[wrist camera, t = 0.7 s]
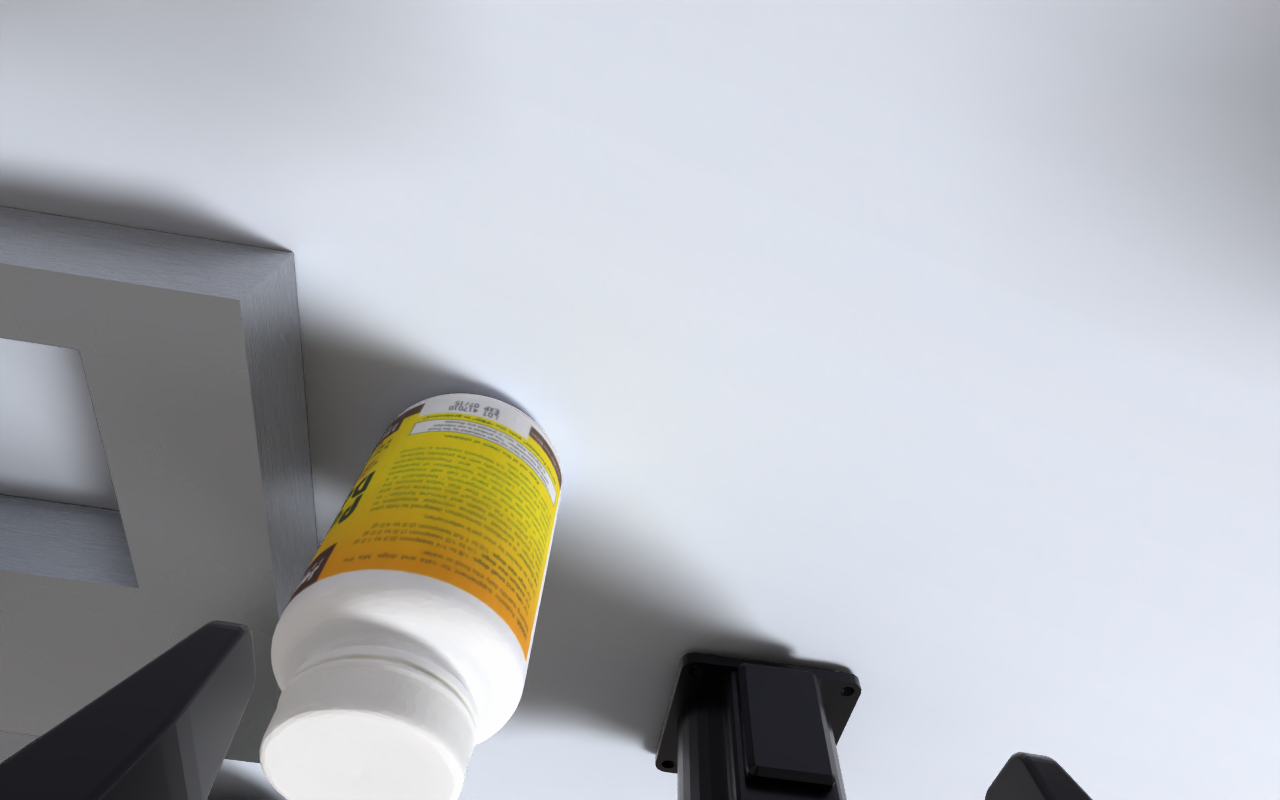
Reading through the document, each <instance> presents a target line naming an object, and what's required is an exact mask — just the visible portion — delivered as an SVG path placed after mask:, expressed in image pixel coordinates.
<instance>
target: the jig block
mask: <svg viewBox="0 0 1280 800" xmlns="http://www.w3.org/2000/svg"><path fill="white" fill-rule="evenodd" d="M0 338H4V339H11V340H18V341H24V342H31V343H38V344H45V345H51V346H58V347H65V348H71V349H78V350H79V351H80V355H81V359H82V363H83V367H84V371H85V375H86V379H87V383H88V387H89V391H90V395H91V399H92V403H93V407H94V411H95V415H96V419H97V423H98V427H99V431H100V435H101V439H102V443H103V447H104V451H105V454H106V458H107V462H108V466H109V470H110V474H111V478H112V482H113V486H114V490H115V494H116V498H117V502H118V506H119V510H120V511H115V510H107V509H100V508H93V507H86V506H79V505H71V504H64V503H57V502H50V501H43V500H35V499H28V498H21V497H14V496H6V495H0V731H2V732H10V733H19V734H27V735H35V736H42V735H43V734H45V733H46V732H48V731H49V730H51V729H52V728H54V727H55V726H57V725H58V724H59V723H61V722H62V721H64V720H65V719H67V718H68V717H70V716H71V715H73V714H74V713H76V712H77V711H78V710H80V709H81V708H83V707H84V706H86V705H87V704H89V703H90V702H92V701H93V700H95V699H96V698H98V697H99V696H100V695H102V694H103V693H105V692H106V691H108V690H109V689H111V688H112V687H114V686H115V685H117V684H118V683H120V682H121V681H122V680H124V679H125V678H127V677H128V676H130V675H131V674H133V673H134V672H136V671H137V670H139V669H140V668H142V667H143V666H144V665H146V664H147V663H149V662H150V661H152V660H153V659H155V658H156V657H158V656H159V655H161V654H162V653H164V652H165V651H166V650H168V649H169V648H171V647H172V646H174V645H175V644H177V643H178V642H180V641H181V640H183V639H184V638H185V637H187V636H188V635H190V634H191V633H193V632H194V631H196V630H197V629H199V628H200V627H202V626H203V625H205V624H206V623H209V622H211V621H215V620H220V621H226V622H232V623H238V624H244V625H247V626H248V627H249V628H250V629H251V631H252V635H253V646H254V659H255V671H256V676H255V683H254V687H253V690H252V693H251V696H250V699H249V701H248V703H247V706H246V708H245V710H244V713H243V715H242V717H241V720H240V722H239V725H238V727H237V729H236V732H235V734H234V736H233V739H232V741H231V744H230V746H229V748H228V751H227V753H226V755H225V758H224V759H230V760H238V761H247V762H255V763H260V746H261V742H262V740H263V737H264V734H265V732H266V730H267V728H268V726H269V724H270V722H271V720H272V717H273V715H274V713H275V711H276V709H277V705H278V701H279V698H280V695H281V693H282V691H281V689H280V688H279V686H278V683H277V681H276V678H275V675H274V672H273V668H272V663H271V647H272V639H273V635H274V632H275V629H276V626H277V624H278V622H279V620H280V618H281V616H282V614H283V612H284V610H285V608H286V606H287V604H288V603H289V601H290V599H291V597H292V595H293V594H294V592H295V590H296V588H297V587H298V585H299V583H300V581H301V579H302V577H303V576H304V574H305V572H306V570H307V569H308V567H309V565H310V564H311V562H312V560H313V558H314V557H315V555H316V553H317V551H318V546H317V534H316V522H315V509H314V497H313V485H312V472H311V460H310V448H309V436H308V423H307V411H306V399H305V387H304V374H303V362H302V350H301V337H300V325H299V313H298V301H297V288H296V276H295V264H294V253H293V252H286V251H280V250H274V249H267V248H261V247H255V246H248V245H242V244H236V243H229V242H223V241H217V240H210V239H204V238H197V237H191V236H185V235H178V234H172V233H166V232H159V231H153V230H147V229H140V228H134V227H128V226H121V225H115V224H109V223H102V222H96V221H90V220H83V219H77V218H71V217H64V216H58V215H52V214H45V213H39V212H33V211H26V210H20V209H14V208H7V207H1V206H0Z"/></svg>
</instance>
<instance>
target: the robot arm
mask: <svg viewBox="0 0 1280 800" xmlns="http://www.w3.org/2000/svg"><path fill="white" fill-rule="evenodd" d="M255 676H256V671H255V659H254V646H253V635H252V631H251V629H250V628H249V627H248V626H247V625H244V624H238V623H232V622H226V621H220V620H215V621H211V622H209V623H206V624H205V625H203V626H202V627H200V628H199V629H197V630H196V631H194V632H193V633H191V634H190V635H188V636H187V637H185V638H184V639H183V640H181V641H180V642H178V643H177V644H175V645H174V646H172V647H171V648H169V649H168V650H166V651H165V652H164V653H162V654H161V655H159V656H158V657H156V658H155V659H153V660H152V661H150V662H149V663H147V664H146V665H144V666H143V667H142V668H140V669H139V670H137V671H136V672H134V673H133V674H131V675H130V676H128V677H127V678H125V679H124V680H122V681H121V682H120V683H118V684H117V685H115V686H114V687H112V688H111V689H109V690H108V691H106V692H105V693H103V694H102V695H100V696H99V697H98V698H96V699H95V700H93V701H92V702H90V703H89V704H87V705H86V706H84V707H83V708H81V709H80V710H78V711H77V712H76V713H74V714H73V715H71V716H70V717H68V718H67V719H65V720H64V721H62V722H61V723H59V724H58V725H57V726H55V727H54V728H52V729H51V730H49V731H48V732H46V733H45V734H43V735H42V736H40V737H39V738H37V739H36V740H35V741H33V742H32V743H30V744H29V745H27V746H26V747H24V748H23V749H21V750H20V751H18V752H17V753H15V754H14V755H13V756H11V757H10V758H8V759H7V760H5V761H4V762H2V763H1V764H0V800H207V798H208V796H209V793H210V791H211V788H212V786H213V784H214V781H215V779H216V777H217V774H218V772H219V770H220V767H221V765H222V762H223V760H224V758H225V755H226V753H227V751H228V748H229V746H230V744H231V741H232V739H233V736H234V734H235V732H236V729H237V727H238V725H239V722H240V720H241V717H242V715H243V713H244V710H245V708H246V706H247V703H248V701H249V699H250V696H251V693H252V690H253V687H254V683H255ZM860 694H861V686H860V682H859V679H858V677H857V676H855V675H854V674H850V673H844V672H837V671H829V670H822V669H814V668H807V667H799V666H792V665H784V664H777V663H770V662H762V661H755V660H747V659H740V658H732V657H725V656H717V655H710V654H702V653H690V654H687V655H685V656H684V657H683V658H682V660H681V663H680V667H679V670H678V674H677V678H676V681H675V685H674V688H673V692H672V696H671V699H670V703H669V707H668V710H667V714H666V718H665V721H664V725H663V729H662V732H661V736H660V739H659V743H658V747H657V750H656V762H655V763H656V767H657V768H658V769H659V770H661V771H664V772H670V773H678V800H847V799H846V794H845V789H844V784H843V779H842V774H841V769H840V764H839V759H838V754H837V749H836V745H837V743H838V741H839V739H840V736H841V734H842V732H843V730H844V728H845V726H846V724H847V722H848V719H849V717H850V715H851V713H852V711H853V709H854V707H855V705H856V702H857V700H858V698H859V696H860ZM985 800H1092V799H1091V798H1090V797H1089V796H1088V794H1087V793H1086V792H1085V791H1084V790H1083V789H1082V788H1081V787H1080V786H1079V785H1078V784H1077V783H1076V782H1075V781H1074V780H1073V779H1072V778H1071V776H1070V775H1069V774H1068V773H1067V772H1066V771H1065V770H1064V769H1063V768H1062V767H1061V766H1060V765H1059V764H1058V763H1057V762H1056V761H1054V760H1053V759H1051V758H1049V757H1047V756H1042V755H1036V754H1030V753H1024V752H1018V753H1016V754H1014V755H1012V756H1011V757H1010V758H1009V760H1008V761H1007V763H1006V764H1005V766H1004V767H1003V768H1002V770H1001V771H1000V773H999V774H998V776H997V777H996V778H995V780H994V781H993V783H992V784H991V786H990V787H989V789H988V791H987V793H986V797H985Z"/></svg>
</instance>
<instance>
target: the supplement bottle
mask: <svg viewBox="0 0 1280 800" xmlns="http://www.w3.org/2000/svg"><path fill="white" fill-rule="evenodd" d="M561 492H562V469H561V464H560V461H559V457H558V455H557V452H556V450H555V447H554V446H553V444H552V442H551V440H550V439H549V437H548V436H547V435H546V433H545V432H544V431H543V430H542V428H541V427H540V426H539V425H538V424H537V423H536V422H535V421H534V420H532V419H531V418H530V417H529V416H528V415H526V414H525V413H523V412H522V411H520V410H519V409H517V408H515V407H513V406H511V405H509V404H507V403H504V402H502V401H500V400H497V399H494V398H490V397H486V396H482V395H476V394H465V393H456V394H445V395H439V396H434V397H431V398H428V399H425V400H422V401H420V402H418V403H416V404H414V405H412V406H410V407H409V408H407V409H406V410H404V411H403V412H402V413H401V414H400V415H399V416H398V417H397V418H396V419H394V421H393V422H392V423H391V424H390V425H389V427H388V428H387V430H386V431H385V433H384V435H383V436H382V438H381V439H380V441H379V443H378V445H377V446H376V448H375V450H374V451H373V453H372V455H371V457H370V459H369V460H368V462H367V464H366V466H365V467H364V469H363V471H362V473H361V474H360V476H359V478H358V480H357V482H356V483H355V485H354V487H353V489H352V491H351V492H350V494H349V496H348V497H347V499H346V501H345V503H344V505H343V507H342V509H341V510H340V512H339V513H338V515H337V517H336V519H335V521H334V523H333V525H332V526H331V528H330V530H329V532H328V533H327V535H326V537H325V539H324V541H323V542H322V544H321V546H320V548H319V550H318V551H317V553H316V555H315V557H314V558H313V560H312V562H311V564H310V565H309V567H308V569H307V570H306V572H305V574H304V576H303V577H302V579H301V581H300V583H299V585H298V587H297V588H296V590H295V592H294V594H293V595H292V597H291V599H290V601H289V603H288V604H287V606H286V608H285V610H284V612H283V614H282V616H281V618H280V620H279V622H278V624H277V626H276V629H275V632H274V635H273V639H272V647H271V663H272V668H273V672H274V675H275V678H276V681H277V683H278V686H279V688H280V689H281V691H282V693H281V695H280V698H279V701H278V705H277V709H276V711H275V713H274V715H273V717H272V720H271V722H270V724H269V726H268V728H267V730H266V732H265V734H264V737H263V740H262V742H261V746H260V763H261V766H262V770H263V772H264V774H265V776H266V778H267V779H268V780H269V782H270V783H271V784H272V786H273V787H274V788H275V789H276V790H277V792H279V793H280V794H281V795H282V796H283V797H285V798H286V799H287V800H457V799H458V797H459V795H460V793H461V790H462V788H463V784H464V780H465V775H466V771H467V767H468V764H469V760H470V757H471V755H472V753H473V750H474V747H475V745H477V744H479V743H481V742H483V741H485V740H486V739H488V738H489V737H491V736H492V735H494V734H495V733H496V732H497V731H499V730H500V729H501V728H502V727H503V726H504V725H505V723H506V722H507V721H508V720H509V719H510V717H511V716H512V715H513V713H514V711H515V710H516V708H517V706H518V704H519V701H520V699H521V696H522V693H523V688H524V684H525V679H526V674H527V668H528V663H529V659H530V653H531V648H532V642H533V637H534V632H535V627H536V622H537V617H538V612H539V607H540V602H541V597H542V591H543V586H544V581H545V576H546V571H547V566H548V561H549V556H550V551H551V545H552V540H553V535H554V530H555V525H556V519H557V514H558V508H559V504H560V498H561Z"/></svg>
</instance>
